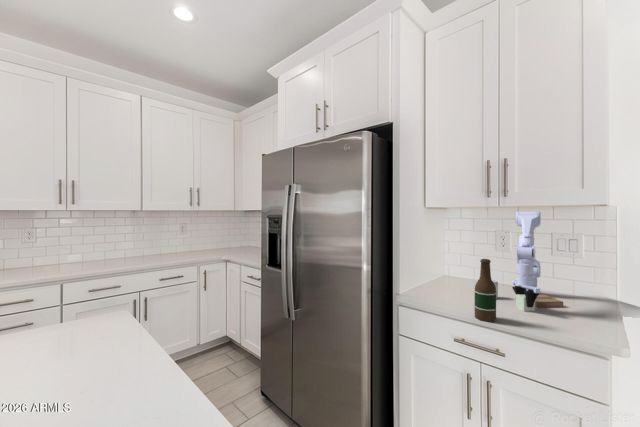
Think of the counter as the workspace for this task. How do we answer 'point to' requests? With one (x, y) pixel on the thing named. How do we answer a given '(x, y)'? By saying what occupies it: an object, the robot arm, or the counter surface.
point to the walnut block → (547, 302)
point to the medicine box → (496, 287)
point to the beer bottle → (485, 294)
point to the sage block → (523, 303)
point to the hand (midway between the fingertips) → (525, 305)
